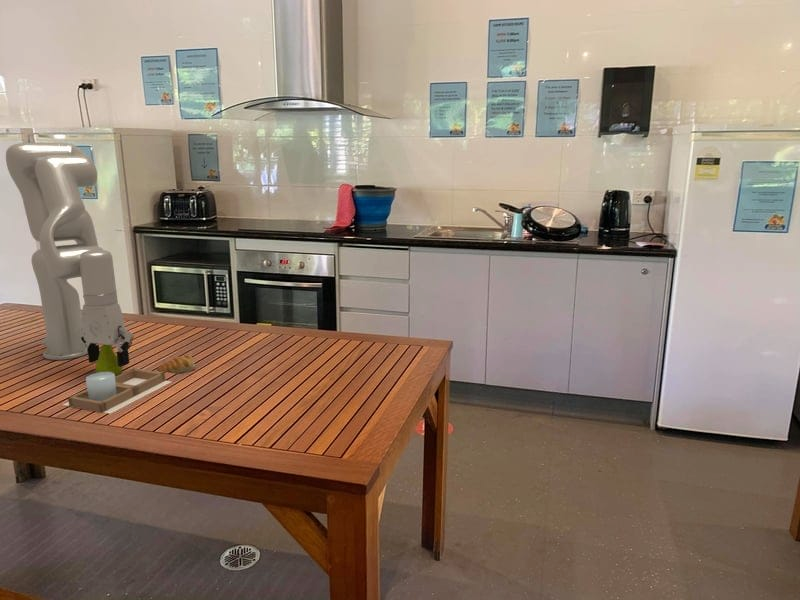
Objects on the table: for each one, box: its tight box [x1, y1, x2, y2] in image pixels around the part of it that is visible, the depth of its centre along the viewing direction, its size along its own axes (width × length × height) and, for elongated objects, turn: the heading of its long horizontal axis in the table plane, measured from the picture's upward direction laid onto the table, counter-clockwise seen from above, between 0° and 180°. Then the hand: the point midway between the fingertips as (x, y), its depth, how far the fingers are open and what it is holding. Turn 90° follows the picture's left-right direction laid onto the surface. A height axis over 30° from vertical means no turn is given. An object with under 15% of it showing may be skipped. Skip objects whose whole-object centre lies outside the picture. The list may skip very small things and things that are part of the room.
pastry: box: [156, 354, 196, 375], centre depth 161 cm, size 9×7×4 cm
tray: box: [62, 368, 172, 414], centre depth 143 cm, size 14×20×3 cm
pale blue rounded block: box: [85, 372, 117, 401], centre depth 138 cm, size 6×6×6 cm
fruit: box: [94, 345, 123, 376], centre depth 154 cm, size 6×6×12 cm
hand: (109, 363), depth 155 cm, fingers open, 9 cm apart
